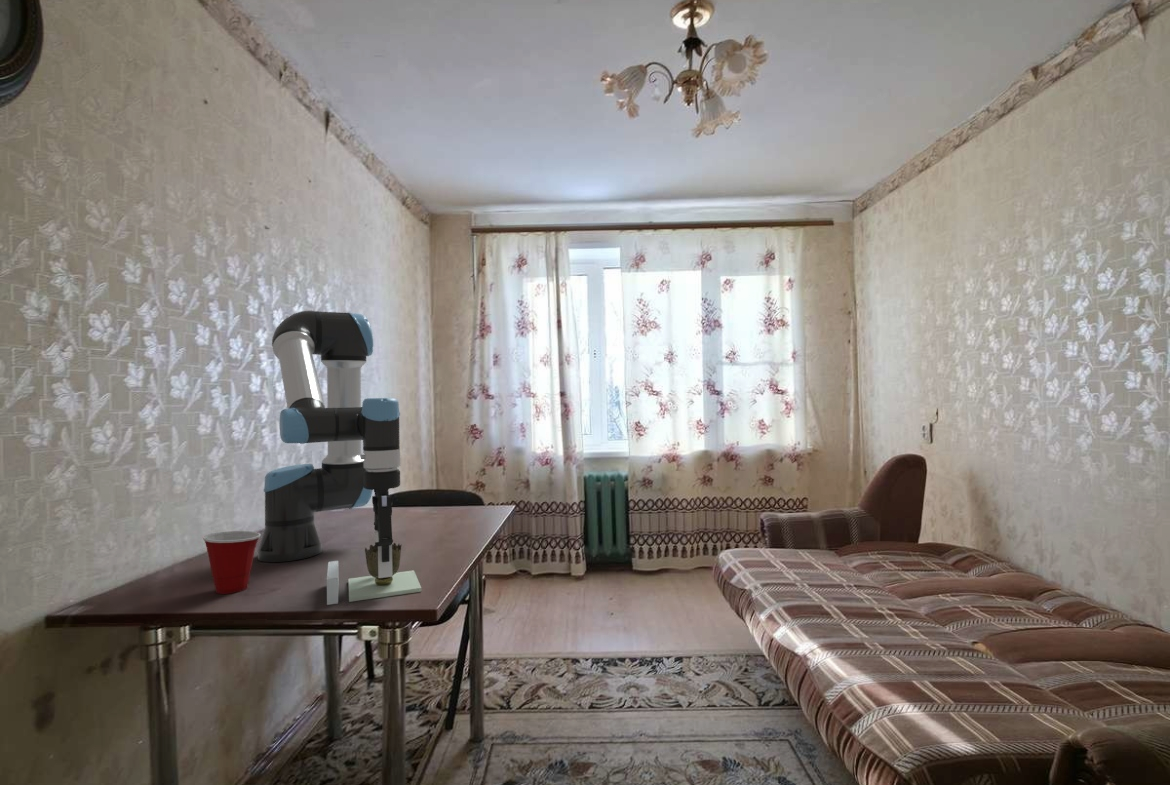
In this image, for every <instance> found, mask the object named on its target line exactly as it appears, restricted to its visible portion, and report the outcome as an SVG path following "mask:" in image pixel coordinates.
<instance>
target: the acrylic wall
mask: <svg viewBox="0 0 1170 785" xmlns="http://www.w3.org/2000/svg"><path fill="white" fill-rule="evenodd" d="M326 572H327V574H326V605H327V606H329V605H337V604H339V590H340V589H339V588H340V587H339V578H340V576H339V560H332V561H328V563H327V571H326Z"/></svg>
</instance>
